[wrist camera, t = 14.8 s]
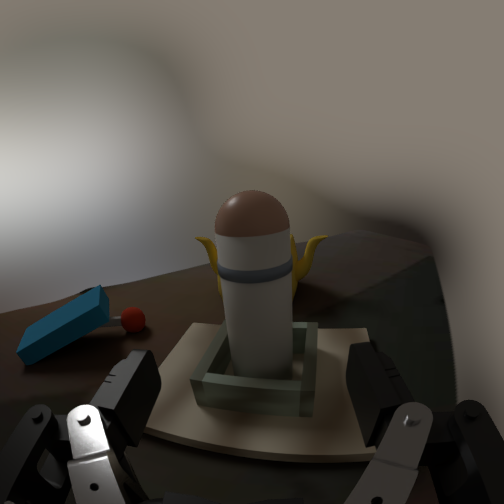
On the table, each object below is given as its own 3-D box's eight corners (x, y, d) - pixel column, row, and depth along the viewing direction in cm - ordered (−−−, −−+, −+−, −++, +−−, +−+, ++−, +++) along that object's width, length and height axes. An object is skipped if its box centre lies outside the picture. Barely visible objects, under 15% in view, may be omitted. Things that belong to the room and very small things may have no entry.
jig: (126, 426, 18) (107, 392, 16) (194, 330, 33) (189, 300, 31) (384, 459, 13) (402, 426, 12) (364, 337, 28) (369, 304, 27)
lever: (49, 391, 25) (154, 336, 31) (16, 352, 22) (125, 290, 28) (53, 363, 31) (146, 313, 37) (26, 327, 28) (122, 272, 34)
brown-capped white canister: (226, 393, 21) (196, 197, 16) (241, 356, 25) (223, 189, 21) (290, 399, 19) (285, 192, 15) (296, 360, 24) (292, 185, 20)
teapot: (328, 293, 40) (329, 228, 37) (246, 326, 33) (239, 250, 30) (271, 268, 52) (268, 217, 49) (201, 289, 45) (193, 231, 42)
